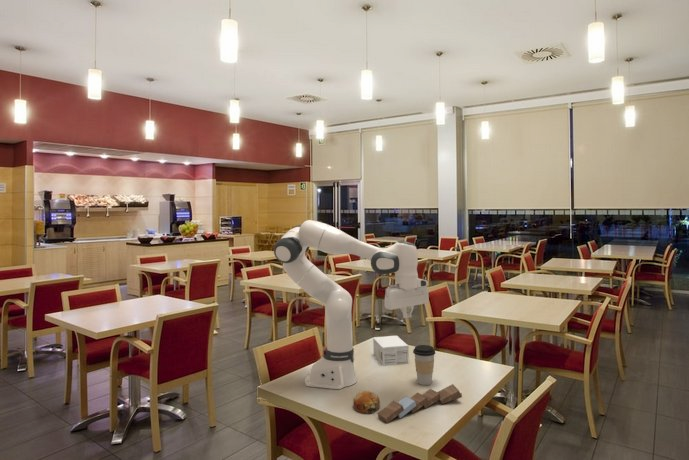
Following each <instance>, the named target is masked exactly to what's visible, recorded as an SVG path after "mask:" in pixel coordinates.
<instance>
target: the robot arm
mask: <svg viewBox="0 0 689 460" xmlns="http://www.w3.org/2000/svg"><path fill="white" fill-rule="evenodd" d="M310 248H313V249H316V250H318V251H320V252H323V253H326V254H329V255H335V256H337V255H354V256H357V257H360V258H363V259H366V260H368V261H370V266H371V269H372V271H373V272H375V273H376V274H378V275H382V276H383V275H389V274H393V273H394V279H395V280H394V281H395V283H394V284H388V286H387V287H386V288H385V295H384V303H383V304H384V308H385V309H386V310H390V311H391V310H392V311H393V310H398V309H399V310H400V311H401V313H402V318H403V319H409V318H412V313H413V310H414V309H415V308H414V307H415V306H420V305H425V304H428V302H429V298H430V295H429V288H428V286H429V282H428V280H426V279H422V278H419V274H418V264H419V261H418V260H419V259H418V250H417V249H418V248H417V246H416V245H415V244H414V243H413V242H408V241H405V240H398V241H396V242H395V243H393V244H392V245H390V246H383V247H379V246H376V245H373V244H371V243H368V242H364V241H363V240H359V239H357V238H356V237H353V236H351V235H349V234H348V233H346V232H344V231H343V230H340V228H339V229H338V228H337V227H334V226H332V225H331V224H328V223H324V222H322V221H319V220H318V221H317V220H312V219H307V220H305V221H304V222H303V223H302V224H298V225H295V226H292V228H291V229H289V230H287V231H286V232H285V233H284V234H283V235H282V236H281V238H280V239H278V240H277V241H276V243H275V245H274V247H273V254H274V256H275V259H277V260H278V261H279V262H281V263H282V269H283V270H284V272H285V273H286V274H287V275H288V277H289V278H290V279H291V280H292V281H293V282H294V283H295V284H296V285H297V286H298V287H300V288H301V289H302V290H303V291H304V292H305V293H306V294H307V295H308V296H310V297H311V298H313V299H315V300H317V301H319V302H320V303H321V304H323V305H324V312H325V326H326V327H325V328H326V346H323V347H322V357H320V358H319V359H318V360H317V361H316V362H315V363H313V364H312V365H311V369H310V372H309V374H307V375H306V377H305V378H304V385H305V386H306V387H311V388H312V387H314V388H319V389H320V388H321V389H323V388H324V389H331V390H333V389H334V390H341V389H343V388H347V387H350V386H352V385H355V384H356V383H357V381H358V379H357V375H356V371H355V364H354V363H355V362H354V361H355V352H354V351H355V349H354V347H353V344H354V343H353V341H354V340H353V318H352V317H353V316H352V315H353V314H352V309H353V308H352V307H353V297H352V295H351V293H349V291H347V290H346V289H345V288H343V287H342V286H341V285H339V283H337V282H335V281H334V280H333V279H331V277H330V278H329V276H327V275H326V274H325V273H324V272H323V271H322V270H321V269H320V268H318V267H317V266H316V265H315V264H314V263H312V262H311V260H309V259H308V258H307V256H306V253H308V252H309V250H310ZM406 310H407V311H406Z"/></svg>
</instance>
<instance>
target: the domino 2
mask: <svg viewBox="0 0 689 460" xmlns="http://www.w3.org/2000/svg"><path fill="white" fill-rule="evenodd" d="M410 398H411V397H408V396H404V397H403V398H402V399H400V400H399V401H397V403H399V404H401V405H403V408H404V411H403V412H401V413H400V414H399V415H397V416H396V417H398V419H401V418H403V417H404V416H405V415H407V414H408V413H410V412H409V411H410V410H412V409H413V408H414V407H415V406H416V403H415V401H414V400H412V399H410Z"/></svg>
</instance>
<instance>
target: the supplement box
mask: <svg viewBox="0 0 689 460" xmlns="http://www.w3.org/2000/svg"><path fill="white" fill-rule="evenodd" d="M372 340H373V341H372V342H373V343H372V344H373V356H374V357H375V359H376V360H377V361H378V363H380V364H381V366H383V367H387V366H398V365H408V364H409V363H410V361H409V355H410V354H409V352H410V351H409V345H408V344H407V343H406V342H405V341H404V340H403V339H401V338H400V336H398V335H388V336H374V337H373V338H372Z"/></svg>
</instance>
